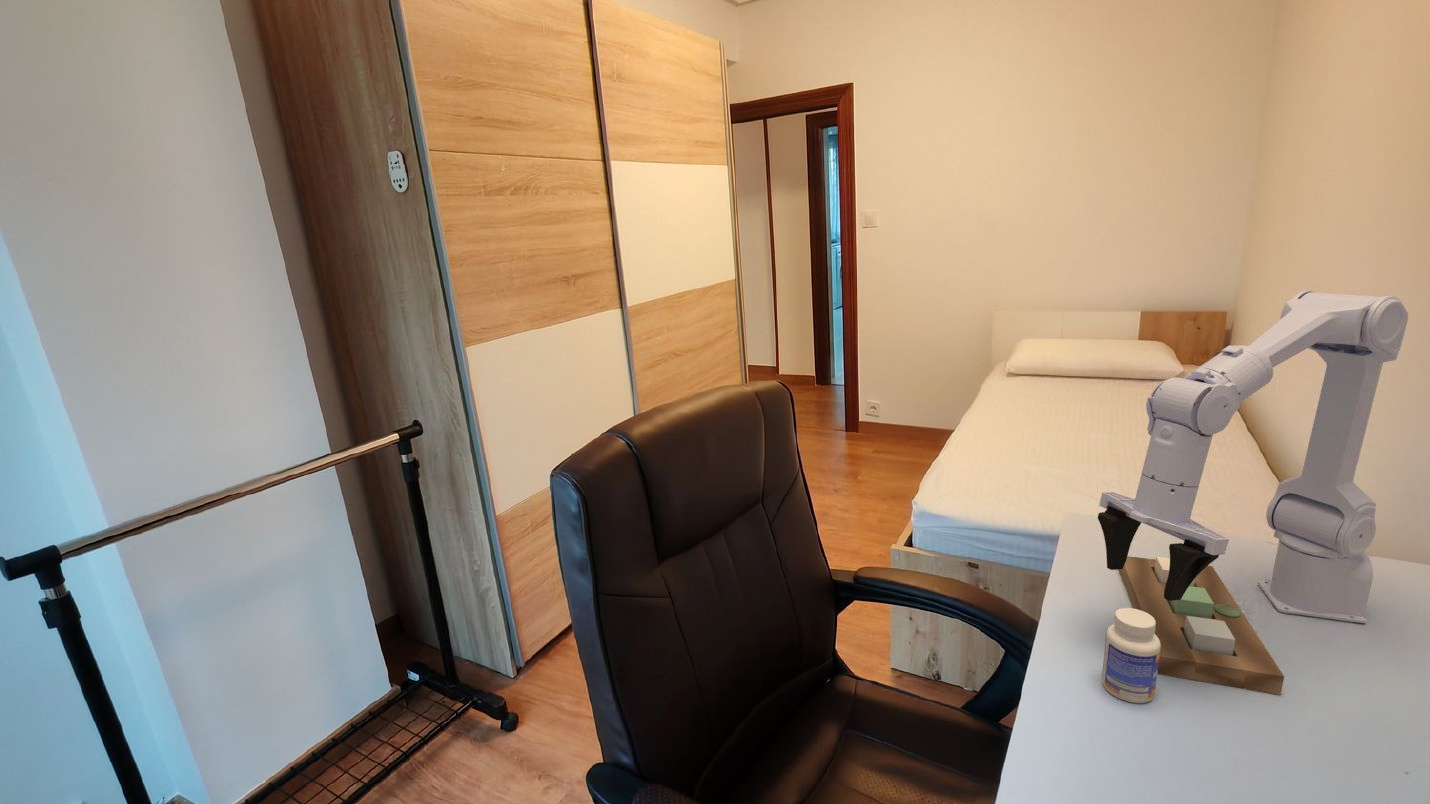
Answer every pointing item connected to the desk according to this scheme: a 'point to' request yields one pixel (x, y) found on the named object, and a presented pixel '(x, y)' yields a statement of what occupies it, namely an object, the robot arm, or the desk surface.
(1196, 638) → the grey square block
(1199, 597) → the sage button
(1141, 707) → the desk surface
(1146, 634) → the pill bottle
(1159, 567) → the cream button
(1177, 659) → the brown wooden slotted board
